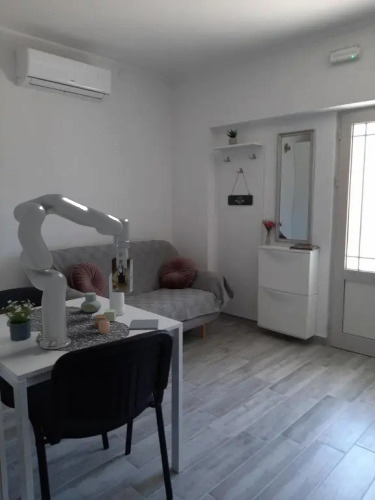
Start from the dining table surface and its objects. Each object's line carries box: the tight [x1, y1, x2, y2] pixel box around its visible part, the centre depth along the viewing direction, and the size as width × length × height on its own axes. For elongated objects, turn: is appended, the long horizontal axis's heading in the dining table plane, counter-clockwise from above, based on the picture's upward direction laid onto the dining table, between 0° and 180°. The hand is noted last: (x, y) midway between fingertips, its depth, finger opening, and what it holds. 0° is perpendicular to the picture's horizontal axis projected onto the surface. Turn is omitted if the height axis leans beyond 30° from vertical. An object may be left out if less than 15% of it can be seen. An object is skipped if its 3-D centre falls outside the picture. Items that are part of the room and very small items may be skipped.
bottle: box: [108, 272, 126, 317], centre depth 207 cm, size 8×8×30 cm
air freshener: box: [80, 291, 102, 314], centre depth 213 cm, size 11×8×10 cm
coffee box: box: [111, 256, 134, 294], centre depth 186 cm, size 9×6×16 cm
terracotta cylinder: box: [98, 320, 111, 335], centre depth 179 cm, size 5×5×5 cm
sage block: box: [103, 308, 117, 322], centre depth 197 cm, size 5×5×5 cm
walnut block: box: [94, 314, 107, 329], centre depth 188 cm, size 5×5×5 cm
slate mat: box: [129, 318, 159, 331], centre depth 189 cm, size 13×13×1 cm
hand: (122, 281), depth 186 cm, fingers closed on coffee box, 6 cm apart
